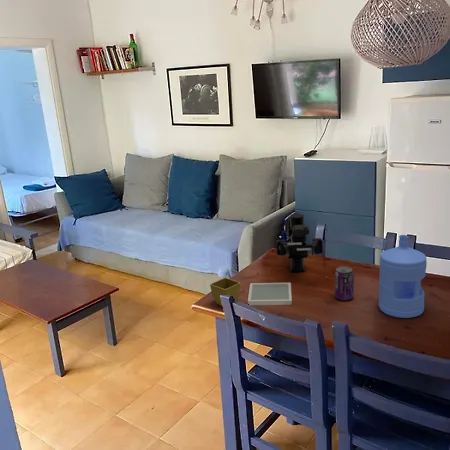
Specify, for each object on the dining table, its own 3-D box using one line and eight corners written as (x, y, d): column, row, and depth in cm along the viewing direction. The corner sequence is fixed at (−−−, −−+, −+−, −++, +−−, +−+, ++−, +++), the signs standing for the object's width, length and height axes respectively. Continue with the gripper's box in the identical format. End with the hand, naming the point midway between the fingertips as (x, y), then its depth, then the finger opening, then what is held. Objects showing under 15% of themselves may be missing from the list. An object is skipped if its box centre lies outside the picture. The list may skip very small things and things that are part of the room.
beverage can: (350, 303, 179) (350, 274, 175) (332, 299, 182) (332, 271, 179) (355, 295, 184) (356, 267, 181) (338, 292, 188) (338, 264, 185)
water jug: (369, 307, 175) (370, 235, 167) (398, 295, 182) (401, 227, 174) (403, 323, 161) (406, 247, 153) (433, 310, 169) (438, 236, 161)
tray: (250, 287, 199) (250, 283, 199) (290, 286, 197) (290, 282, 196) (247, 305, 183) (247, 301, 182) (291, 304, 181) (291, 300, 180)
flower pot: (226, 297, 191) (225, 277, 189) (242, 303, 185) (241, 282, 183) (211, 305, 186) (209, 284, 183) (226, 311, 179) (224, 289, 177)
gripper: (275, 223, 198) (276, 236, 183) (320, 221, 196) (324, 234, 182) (276, 247, 202) (277, 262, 187) (320, 246, 200) (324, 260, 185)
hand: (300, 254), depth 185 cm, fingers open, 9 cm apart
